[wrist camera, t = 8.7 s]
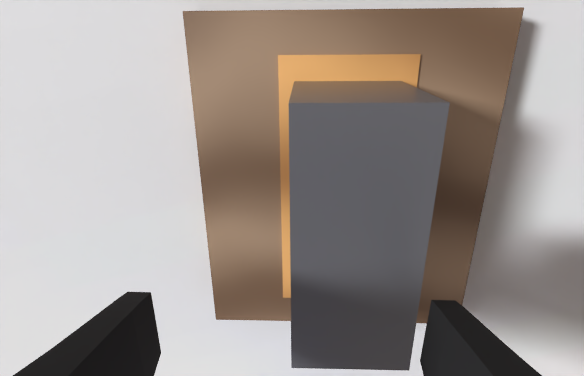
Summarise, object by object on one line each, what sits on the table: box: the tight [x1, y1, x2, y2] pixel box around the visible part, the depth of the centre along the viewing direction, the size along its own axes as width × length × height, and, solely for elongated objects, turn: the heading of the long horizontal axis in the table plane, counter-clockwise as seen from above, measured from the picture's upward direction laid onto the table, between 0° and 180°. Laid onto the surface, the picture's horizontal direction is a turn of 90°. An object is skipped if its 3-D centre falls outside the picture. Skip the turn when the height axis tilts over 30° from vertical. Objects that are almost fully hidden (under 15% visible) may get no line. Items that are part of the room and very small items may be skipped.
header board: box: [183, 8, 524, 323], centre depth 15 cm, size 14×12×5 cm
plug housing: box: [289, 81, 450, 370], centre depth 13 cm, size 9×4×5 cm, turn 1°
